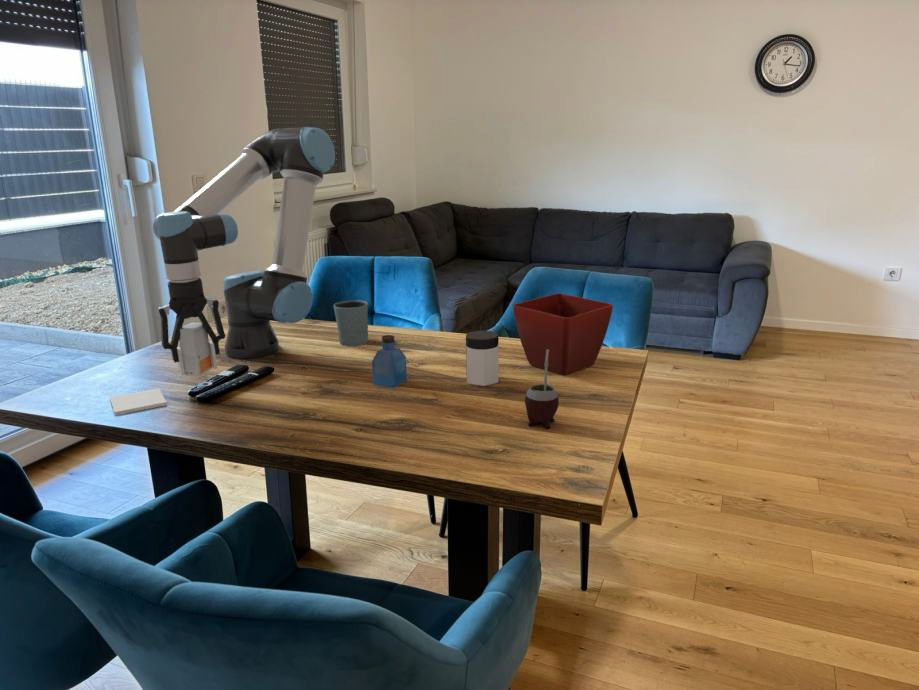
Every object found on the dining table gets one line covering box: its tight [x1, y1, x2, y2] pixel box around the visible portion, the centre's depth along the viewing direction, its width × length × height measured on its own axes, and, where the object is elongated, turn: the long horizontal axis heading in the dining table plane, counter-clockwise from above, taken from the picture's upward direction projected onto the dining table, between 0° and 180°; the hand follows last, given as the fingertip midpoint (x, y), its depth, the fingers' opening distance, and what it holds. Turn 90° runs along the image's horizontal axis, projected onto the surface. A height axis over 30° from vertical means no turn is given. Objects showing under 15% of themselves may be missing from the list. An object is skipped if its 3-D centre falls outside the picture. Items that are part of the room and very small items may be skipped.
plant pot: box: [512, 292, 614, 376], centre depth 177 cm, size 19×19×17 cm
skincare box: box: [179, 321, 214, 377], centre depth 163 cm, size 6×4×12 cm
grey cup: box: [333, 299, 369, 347], centre depth 202 cm, size 10×10×12 cm
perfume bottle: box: [371, 334, 408, 389], centre depth 168 cm, size 6×6×12 cm
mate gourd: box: [524, 349, 560, 430], centre depth 142 cm, size 8×8×15 cm
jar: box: [465, 330, 500, 387], centre depth 168 cm, size 9×8×12 cm
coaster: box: [109, 388, 168, 416], centre depth 159 cm, size 11×11×1 cm
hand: (198, 370), depth 165 cm, fingers closed on skincare box, 7 cm apart
